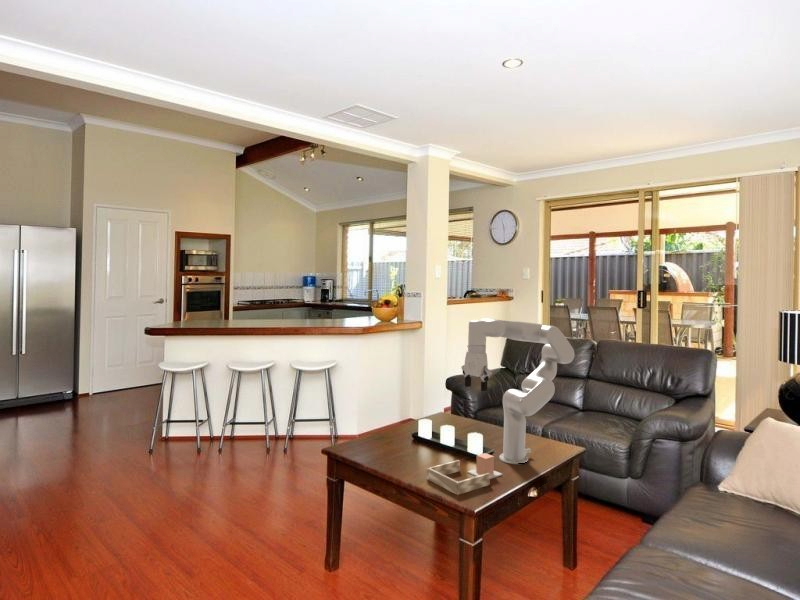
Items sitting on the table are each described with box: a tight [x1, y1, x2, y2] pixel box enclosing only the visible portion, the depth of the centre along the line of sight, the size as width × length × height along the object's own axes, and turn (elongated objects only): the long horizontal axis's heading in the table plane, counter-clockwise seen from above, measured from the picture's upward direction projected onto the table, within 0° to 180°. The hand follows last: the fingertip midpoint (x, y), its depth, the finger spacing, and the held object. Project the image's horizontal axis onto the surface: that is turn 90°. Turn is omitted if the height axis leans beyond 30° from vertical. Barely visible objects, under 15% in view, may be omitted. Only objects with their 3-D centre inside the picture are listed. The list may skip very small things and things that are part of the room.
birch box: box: [426, 459, 491, 496], centre depth 206 cm, size 17×18×4 cm
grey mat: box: [467, 468, 503, 480], centre depth 215 cm, size 10×10×1 cm
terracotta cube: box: [475, 452, 495, 474], centre depth 215 cm, size 5×5×7 cm
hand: (475, 388), depth 223 cm, fingers open, 9 cm apart
